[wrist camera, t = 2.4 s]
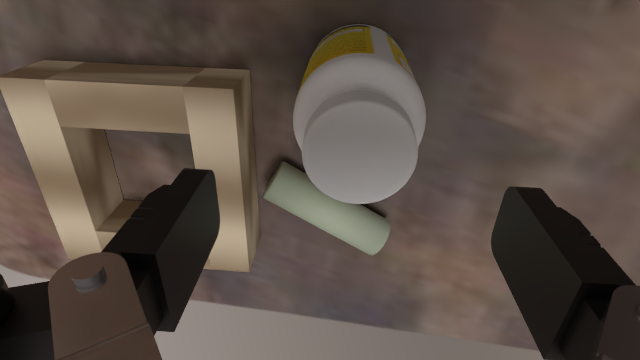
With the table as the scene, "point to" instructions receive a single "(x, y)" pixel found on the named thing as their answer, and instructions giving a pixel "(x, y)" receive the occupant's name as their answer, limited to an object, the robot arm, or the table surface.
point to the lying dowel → (327, 210)
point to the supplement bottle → (359, 116)
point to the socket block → (135, 115)
